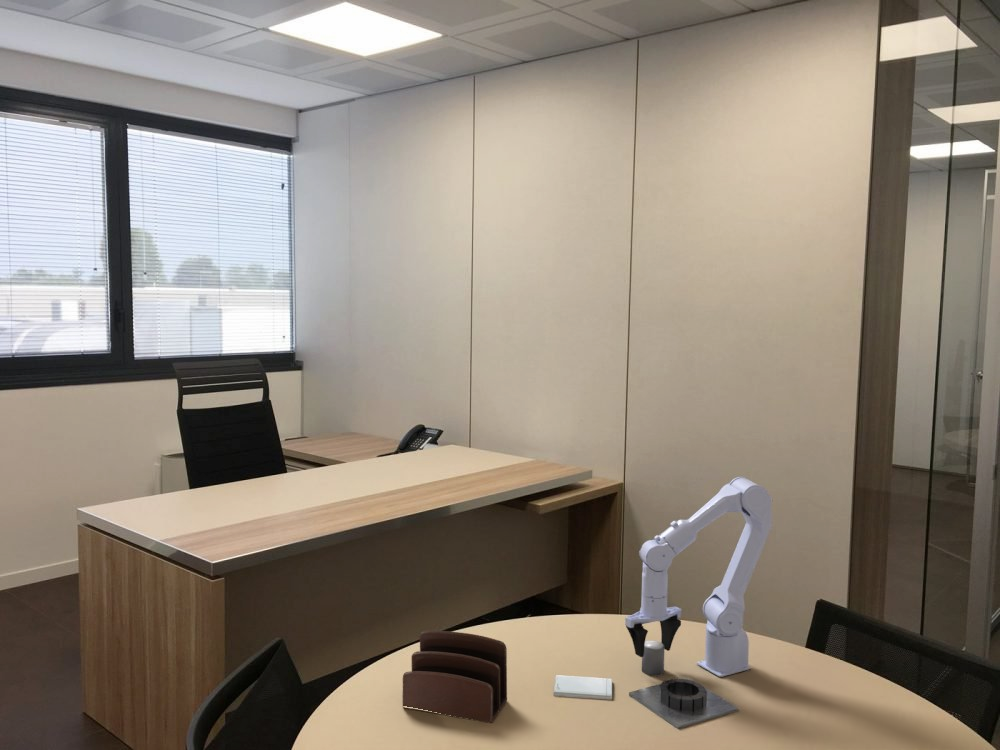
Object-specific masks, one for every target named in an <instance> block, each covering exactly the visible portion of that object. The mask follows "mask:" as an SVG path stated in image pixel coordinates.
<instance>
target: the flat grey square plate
mask: <svg viewBox="0 0 1000 750" xmlns="http://www.w3.org/2000/svg"><path fill="white" fill-rule="evenodd" d="M628 696H629V697H631V698H632V699H634V700H636V701H637V702H638V703H640V704H641V705H643V706H644V707H646V708H647V709H648V710H650V711H651V712H653V713H654V714H655V715H657V716H658V717H659V718H661V719H663V720H665V722H667V723H669V724H670V725H672V726H673V727H674V728H676V729H677V730H679V729H682V728H686V727H689V726H693V725H695V724H698V723H702V722H706V721H709V720H713V719H715V718H718V717H721V716H724V715H729V714H731V713H735V712H738V711H739V710H740V708H739V707H738V706H736V705H735V704H733V703H731V702H730V701H728V700H726V699H725V698H723V697H722V696H720V695H718V694H717V693H715V692H713V691H711V690H710V689H708V688H707V687H705V686H704V685H702V684H701V683H699V682H697V681H695V680H693V679H692V678H691V677H690V678H689V677H688V676H685V677H681V678H670V679H667V680H664V681H662V682H661V683H659V684H655V685H651V686H648V687H644V688H639V689H638V690H633V691H629V692H628Z"/></svg>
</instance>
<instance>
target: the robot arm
mask: <svg viewBox="0 0 1000 750" xmlns="http://www.w3.org/2000/svg"><path fill="white" fill-rule="evenodd" d="M772 503H773V499H772V496H771V495H770V494H769V492H768V490H767V489H766V488H765V487H764V486H762V485H760V484H757V483H755V482H753V481H751V480H750V479H748V478H747V477H745V476H738V477H735V478H733V479H731V481H730V482H729V483H727V484H725V485H723V486H722V487H721V488H720V490H719V492H718V493H716V495H714V496H713V497H712V498H711V499H710V500H709V501H707V503H705V504H704V505H703V506H702V507H701V508H700V509H699V510H697V511H696V512H695V513H694V514H693V515H691V517H689V518H688V519H679V520H673V521H672V522H670V526H669V527H668V528H666V530H664V531H663V532H662V533H660V534H659V535H658V534H657V535H655V536H654V538H653V539H652V540H651V539H649V540H646V541H645V542H643V544H642V545H641V547H640V550H639V551H638V555H639V557H640V560H641V561H642V572H641V599H640V600H641V602H640V603H641V604H640V605H641V606H640V609H639V611H637V612H635V613H633V614H631V615H628V616H625V619H624V620H625V622H624V623H625V624H624V625H625V627H626V629H627V631H628V633H629V636H630V638H631V641H632V644H633V648H634V654H635V655H637V656H638V657H640V658H642V657H643V656H644V645H645V641H646V638H647V634H648V632H649V630H648V629H645V628H644V626H643V624H649V623H653V622H659V624H660V631H661V641H660V642H661V643H662V644H663V645H664V646H665V647H664V651H666V652H667V651H668V652H669V651H671V647H672V644H673V641H674V639H675V635H676V633H677V632H678V630H679V628H680V627H681V626H682V625H681V624H682V621H681V620H680V619H679V618H682V608H680V607H677V606H670V607H668V577H669V575H668V571H669V570H668V569H669V568H670V567H671V565H672V563H673V559H674V558H675V557H676V556H677V555H679V554H680V553H681V552H682V551H683V550H686V548H688V547H689V546H690V545H691V544H693V543H694V542H696V540H697V537H698V533H699V531H701V530H702V529H704V528H705V527H707V526H708V525H710V524H711V523H713V522H714V521H715V520H717V519H718V518H720V517H721V516H722V515H724V514H725V513H741V515H742V517H743V518H744V520H745V522H746V523H745V525H744V528H743V530H742V532H741V534H740V537H739V539H738V542H737V543H736V544H737V545H736V547H735V550H734V551H733V555H732V556H731V559H730V562H729V564H728V567H727V568H726V569H727V570H726V571H725V573H724V576H723V578H722V581H721V583H720V585H719V586H716V587H714V589H713V590H712V593H711V594H710V595H709V597H707V598H706V599H705V601H704V603H703V605H702V614H703V616H704V618H706V619H707V623H706V626H705V651H704V652H705V653H704V654H705V656H704V660H703V659H702V660H698V661H697V662H696V664H697V666H699V667H701V668H703V669H704V670H706V671H708V672H709V673H712V674H714V675H715V676H717V677H720V678H722V677H727V676H730V675H733V674H737V673H740V672H741V673H742V672H744V671H747V670H751V668H752V667H751V666H750V665H749V647H750V645H749V644H750V641H749V637H748V634H747V632H746V631H745V630H744V628H743V625H744V613H745V610H746V605H745V599H744V595H745V593H746V590H747V588H748V586H749V583H750V580H751V578H752V575H753V573H754V571H755V569H756V566H757V563H758V561H759V558H760V557H761V555H762V551H763V549H764V546H765V544H766V541H767V539H768V536H769V534H770V532H771V529H772V526H773V513H772Z"/></svg>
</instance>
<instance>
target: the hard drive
mask: <svg viewBox="0 0 1000 750" xmlns="http://www.w3.org/2000/svg"><path fill="white" fill-rule="evenodd" d="M552 694H553V696H554V697H565V698H567V697H568V698H581V699H595V700H596V699H598V700H601V699H602V700H613V679H612V678H605V677H603V678H601V677H591V676H576V675H573V676H572V675H563V674H562V675H559V674H556V675H555V679H554V688H553V693H552Z"/></svg>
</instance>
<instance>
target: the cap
mask: <svg viewBox="0 0 1000 750" xmlns="http://www.w3.org/2000/svg"><path fill="white" fill-rule="evenodd" d="M664 647H665V646H664V645H663V644H662V643H661V641H658V640H645V645H644V656H643V657H641V672H642V673H643V674H644V675H647V676H651V677H652V676H653V677H657V676H662V675H663V674H664V673H665V649H664Z"/></svg>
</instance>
